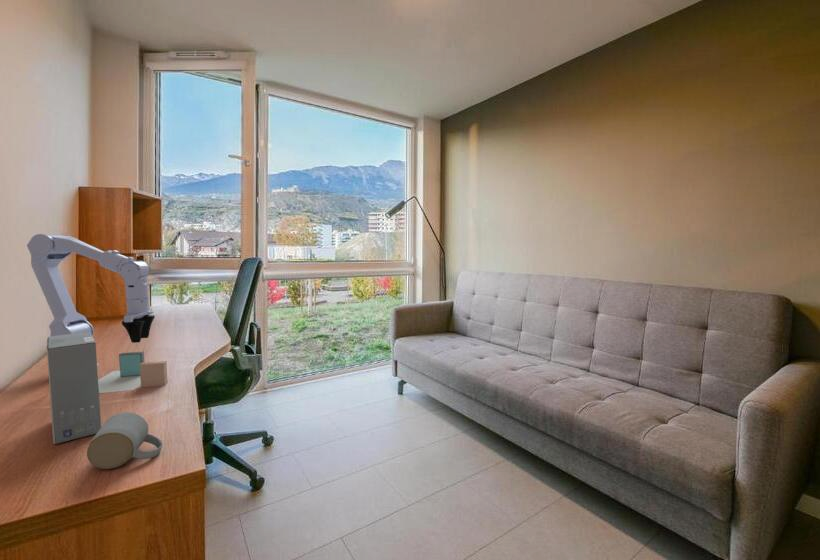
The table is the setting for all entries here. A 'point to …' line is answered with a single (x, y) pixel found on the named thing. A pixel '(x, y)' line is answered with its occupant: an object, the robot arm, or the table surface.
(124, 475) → the table surface
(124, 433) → the ceramic mug
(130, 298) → the robot arm
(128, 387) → the felt mat
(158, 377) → the plain tile
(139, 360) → the glazed tile
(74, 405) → the hard drive box
